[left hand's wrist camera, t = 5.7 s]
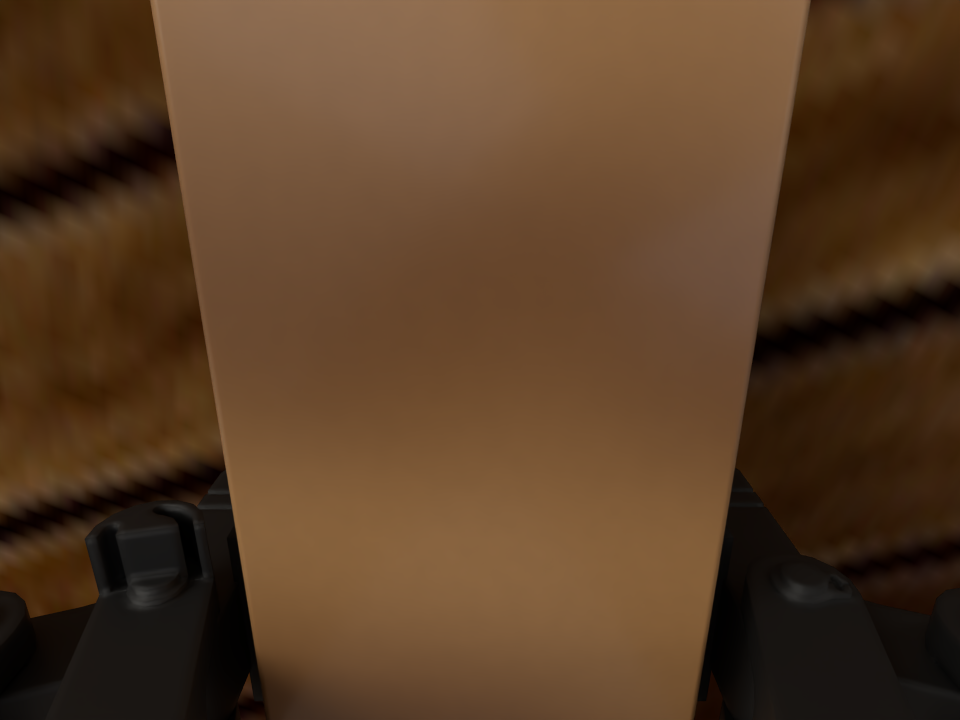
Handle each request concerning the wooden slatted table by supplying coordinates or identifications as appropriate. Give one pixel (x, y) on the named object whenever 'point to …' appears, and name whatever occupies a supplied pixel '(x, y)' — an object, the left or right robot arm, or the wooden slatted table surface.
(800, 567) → the left robot arm
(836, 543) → the wooden slatted table surface
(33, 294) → the wooden slatted table surface
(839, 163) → the wooden slatted table surface
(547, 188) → the post
